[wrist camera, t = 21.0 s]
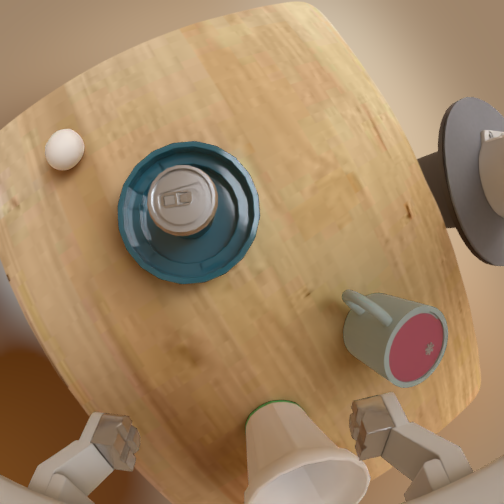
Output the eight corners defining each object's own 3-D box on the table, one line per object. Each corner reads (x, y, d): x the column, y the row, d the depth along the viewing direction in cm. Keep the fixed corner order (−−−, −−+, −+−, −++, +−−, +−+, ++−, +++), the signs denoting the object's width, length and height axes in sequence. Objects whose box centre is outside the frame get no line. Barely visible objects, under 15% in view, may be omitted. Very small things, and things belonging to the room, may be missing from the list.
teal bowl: (224, 137, 34) (227, 122, 29) (271, 249, 35) (281, 249, 31) (112, 183, 32) (100, 175, 28) (157, 298, 33) (150, 305, 29)
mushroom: (91, 134, 31) (77, 120, 26) (88, 172, 32) (72, 161, 27) (58, 140, 31) (41, 127, 26) (54, 176, 31) (35, 167, 26)
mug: (410, 317, 38) (458, 333, 28) (372, 370, 37) (412, 399, 28) (350, 256, 37) (396, 259, 27) (304, 315, 36) (338, 338, 26)
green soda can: (169, 242, 33) (149, 240, 21) (163, 194, 32) (141, 168, 21) (217, 235, 33) (223, 229, 22) (210, 187, 33) (213, 157, 21)
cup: (291, 367, 36) (340, 433, 21) (335, 425, 37) (386, 489, 22) (210, 420, 34) (216, 503, 19) (263, 470, 36) (287, 546, 20)
